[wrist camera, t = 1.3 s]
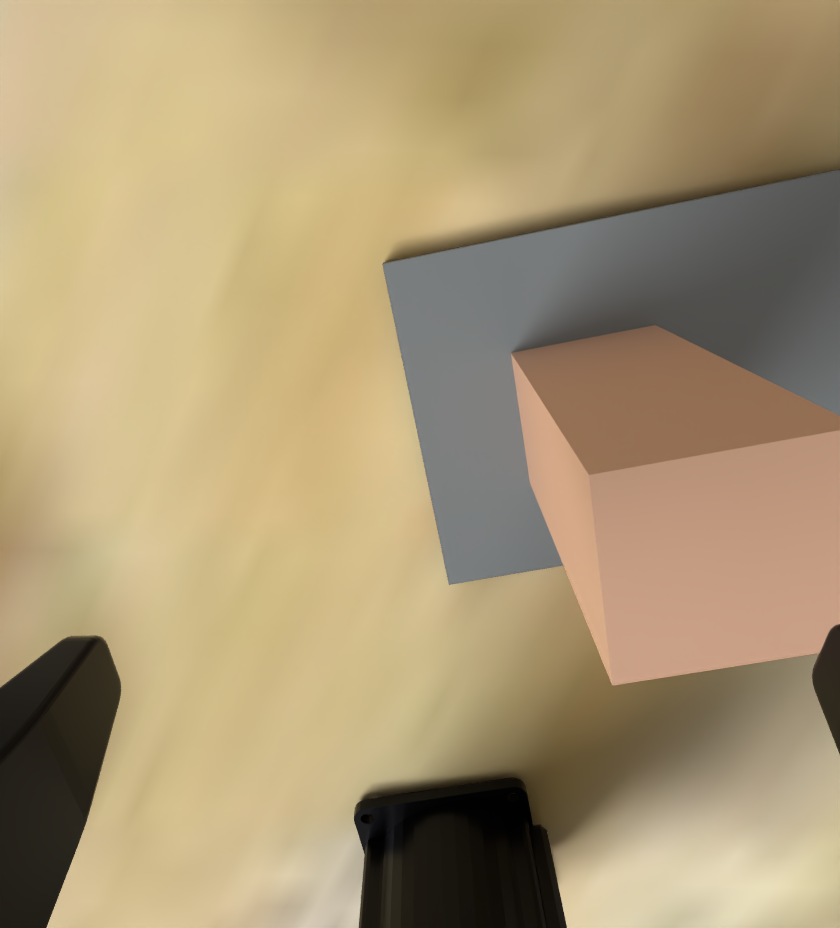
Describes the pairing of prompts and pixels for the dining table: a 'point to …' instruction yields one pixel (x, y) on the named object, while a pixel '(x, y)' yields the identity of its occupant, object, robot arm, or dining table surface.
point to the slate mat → (599, 313)
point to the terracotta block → (683, 502)
